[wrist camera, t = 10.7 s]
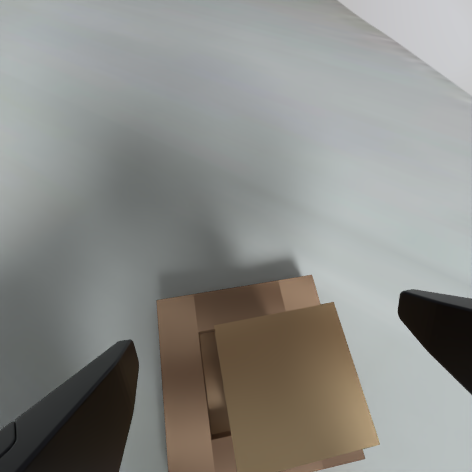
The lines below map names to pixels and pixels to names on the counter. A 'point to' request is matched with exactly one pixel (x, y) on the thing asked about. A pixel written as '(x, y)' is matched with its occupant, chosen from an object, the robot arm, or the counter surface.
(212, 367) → the socket
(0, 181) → the counter surface
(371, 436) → the peg
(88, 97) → the counter surface
